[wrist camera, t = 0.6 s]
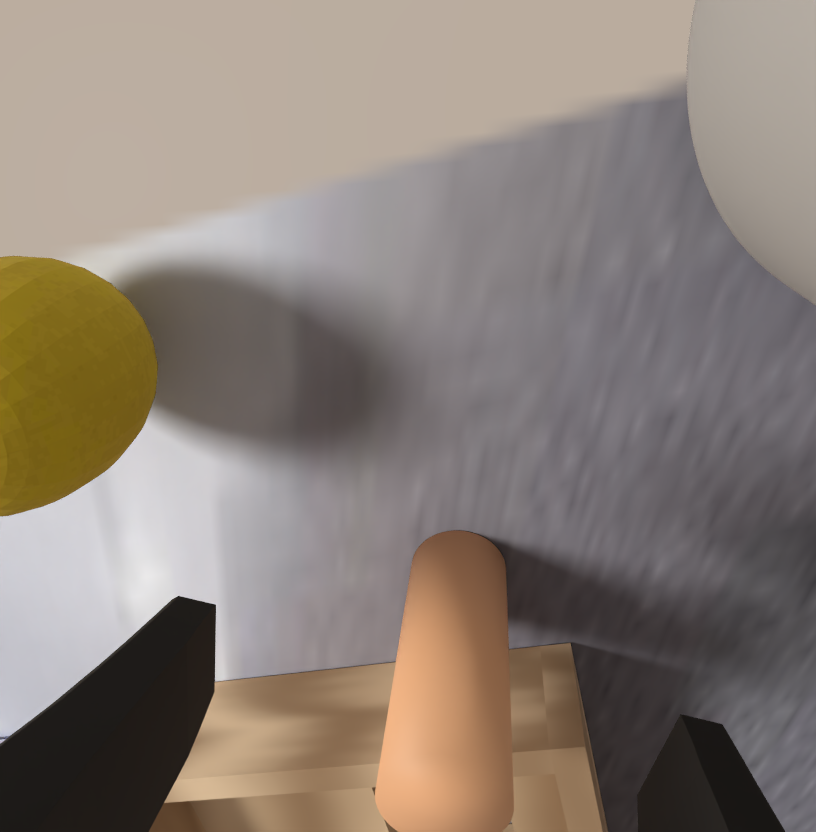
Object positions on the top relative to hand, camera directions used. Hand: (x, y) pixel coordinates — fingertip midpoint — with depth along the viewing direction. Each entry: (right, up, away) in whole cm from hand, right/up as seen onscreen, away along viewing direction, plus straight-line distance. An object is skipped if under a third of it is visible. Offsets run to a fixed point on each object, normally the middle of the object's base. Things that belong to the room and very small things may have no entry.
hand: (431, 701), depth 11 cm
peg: (+1, 0, +11) cm, 11 cm away
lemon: (-9, +7, +9) cm, 15 cm away
